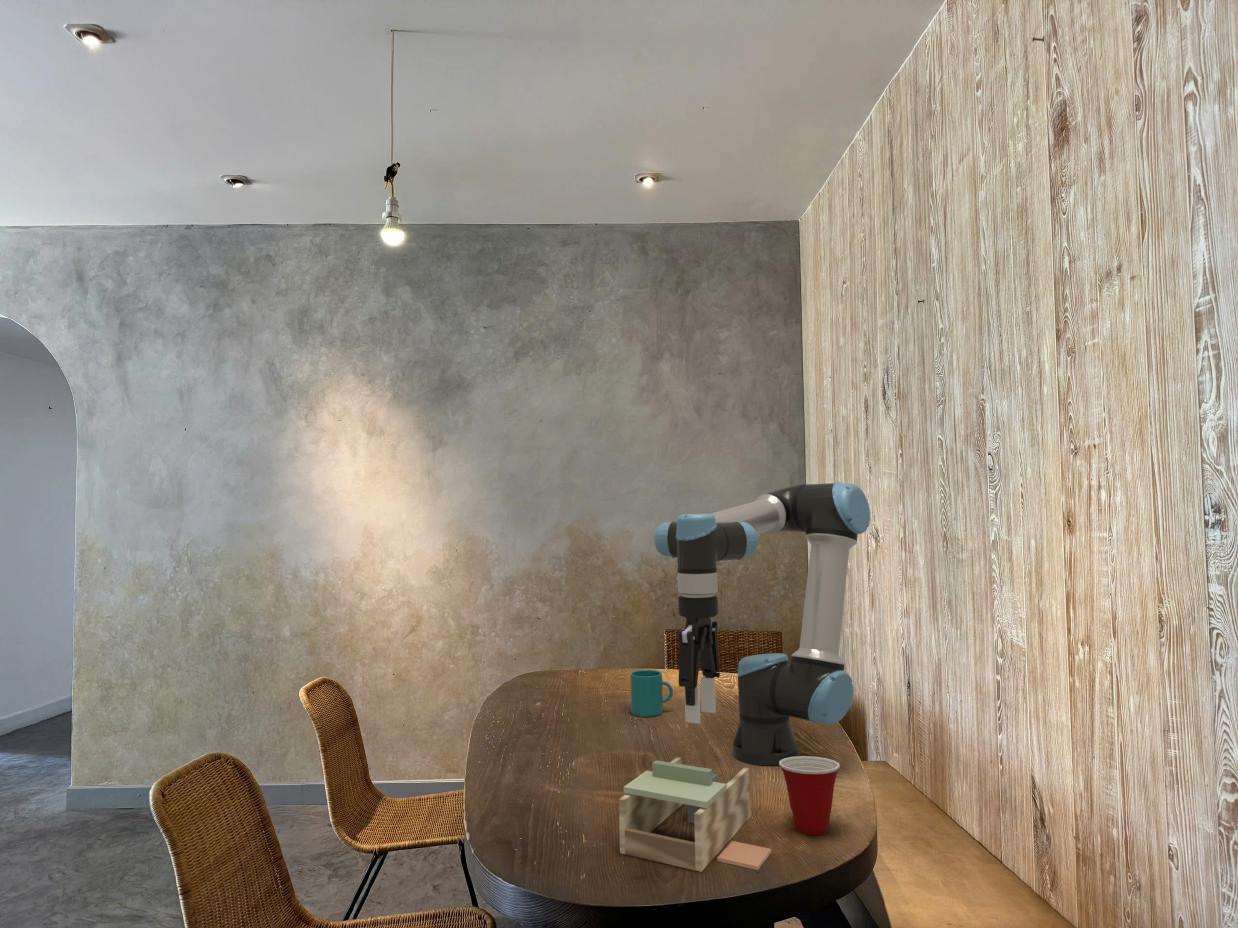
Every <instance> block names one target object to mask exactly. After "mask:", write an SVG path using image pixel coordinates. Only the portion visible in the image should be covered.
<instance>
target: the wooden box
mask: <svg viewBox="0 0 1238 928" xmlns="http://www.w3.org/2000/svg"><path fill="white" fill-rule="evenodd" d="M669 762H670V763H676V764H682V765H683V763H682V762H683V759H682V757H679V756H678V757H675V758H674V759H672V760H671V761H669ZM725 784H726V787H727V790H726V791H725V792H724V793H723V794H722V795H720V796H719V797H718V798H717V799H716V800H715V801H714V802H713V803H712V804H711V805H710V806H709V807H708V808H703V807H701V808H700V809H699V810H698V811H697V812H696V813H695V814H694V823H693V824H694V826H693V827H694V841H690V840H685V839H681V838H677V837H673V836H672V837H671V836H667V835H662V834H657V833H652V831H654V830H655V829H656V828H657V827H658V826H659V825H661V824H662V823H663V822H665V820H666V819H668V818H669V817H670V816H671V815H672V814H674V813H675V812H676V810H678V809H679V808H681V806H682V805H683V804H681V803H676V802H671V801H665V800H660V799H654V798H649V797H644V796H638V795H633V794H628V793H625V794H624V795H622V797H620V798H619V799H618V817H619V818H618V819H619V821H618V824H619V854H622V855H626V856H631V857H635V858H640V859H644V860H649V861H652V862H658V863H663V864H667V865H671V866H675V867H679V868H683V869H688V870H691V871H696V872H703V870H705V868H706V867H707V866H708V865H709V864H710V863H711V862H712V861H713V859H714V858H715V857H717V855H718V854H719V853H720V852H721V851H722V850H723V849H724V847H725V846H726V845H727V844H728V843H729V842H730V840H731V839H733V837H734V836H735V835H736V834H737V833H738V832H739V830H740V829H741V828H742V827H743V826H744V825H745V824H746V823H747V822H748V821H749V819H750V818H751V789H750V788H751V786H750V785H751V782H750V768H749V767H743V768H742V769H741V770H740V771H739V772H738V773H737V774H736V775H735V776H733V778H731V779H730V780H729V781H728V782H727V783H725Z"/></svg>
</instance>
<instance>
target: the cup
mask: <svg viewBox="0 0 1238 928" xmlns="http://www.w3.org/2000/svg"><path fill="white" fill-rule="evenodd" d="M629 678H630V682H629V683H630V712H631V714H632V715H633V716H636V717H640V718H653V717H654V718H655V717H658V716H660V715H662V713H663V712H664V704H665V703H668V702H669V701H670V700H671V699H672V698H673V695H674V693H673V692H674V689H673V687H672V685H671V684H670V683H669V682H667V681H664V680H663V673H662V672H661V671H659V670H656V669H655V670H654V669H638V670H635V671H632V672H630V674H629ZM663 686H665V687H667V689H668V690H669V691H668V692H669V694H668V696H667V697H665V698H664V697H663Z"/></svg>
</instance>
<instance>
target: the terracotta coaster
mask: <svg viewBox="0 0 1238 928" xmlns="http://www.w3.org/2000/svg"><path fill="white" fill-rule="evenodd" d="M771 854H772V848H768V847H763V846H760V845H755V844H754V845H753V844H749V843H744V842H740V841H735V840H731V841H730V843H729V844H728V845H727V846H726V848H724V849H723V851H722V852H721V853H720V854H719V855H718V856H716V857H717V858H716V859H717V861H716V862H719V863H723V864H727V865H732V866H737V867H741V868H745V869H750V870H756V871H759V870H760V868H761V867H762V866H763V864H764V863H765V862H766V861H767V859H768V858H769V856H770V855H771Z"/></svg>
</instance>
